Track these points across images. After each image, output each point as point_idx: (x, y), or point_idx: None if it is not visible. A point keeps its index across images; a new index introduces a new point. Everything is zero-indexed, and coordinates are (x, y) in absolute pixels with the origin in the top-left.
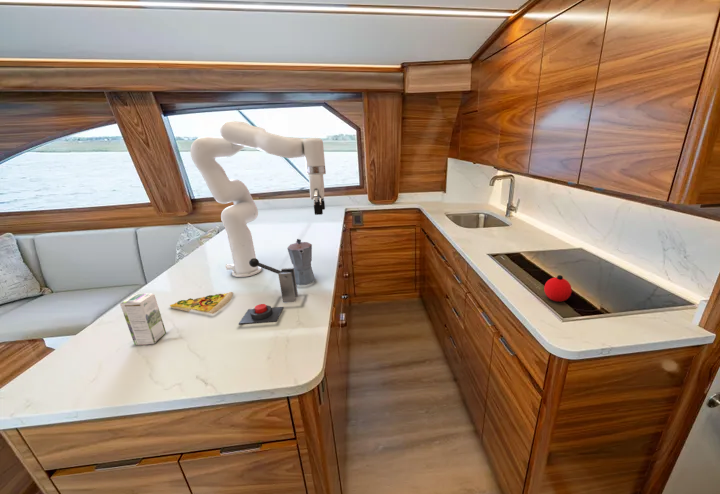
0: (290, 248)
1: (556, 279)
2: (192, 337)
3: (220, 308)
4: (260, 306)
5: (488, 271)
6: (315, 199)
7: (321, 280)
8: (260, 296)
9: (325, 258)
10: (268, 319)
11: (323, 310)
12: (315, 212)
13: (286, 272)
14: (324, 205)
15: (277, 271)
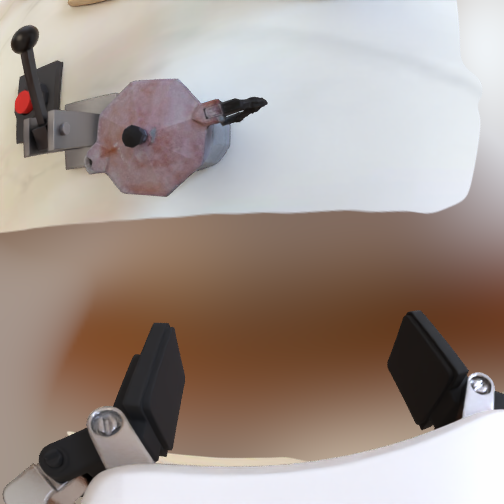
0: (116, 101)
1: None
2: (25, 24)
3: (81, 2)
4: (21, 102)
5: (223, 460)
6: (34, 472)
7: (210, 186)
8: (133, 42)
9: (396, 186)
10: (20, 125)
11: (58, 220)
12: (150, 342)
13: (28, 140)
14: (403, 391)
15: (33, 109)
